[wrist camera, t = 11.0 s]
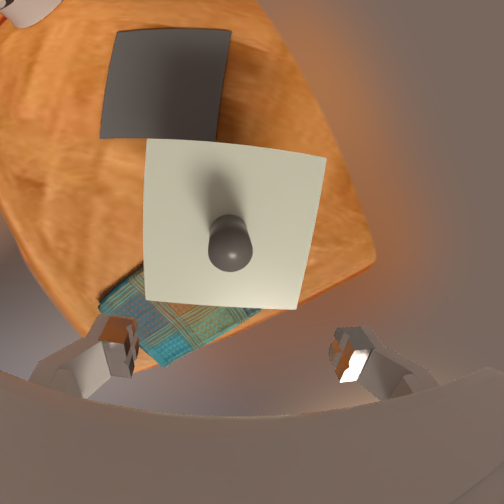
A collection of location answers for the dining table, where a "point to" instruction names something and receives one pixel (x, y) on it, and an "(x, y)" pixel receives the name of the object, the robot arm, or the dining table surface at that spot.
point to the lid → (227, 223)
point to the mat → (165, 84)
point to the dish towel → (170, 320)
